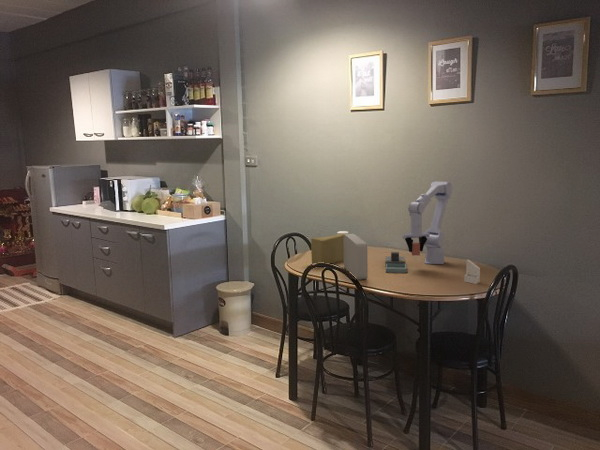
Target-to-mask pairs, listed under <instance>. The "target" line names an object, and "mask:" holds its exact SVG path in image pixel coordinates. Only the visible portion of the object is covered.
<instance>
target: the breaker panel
mask: <svg viewBox="0 0 600 450" xmlns="http://www.w3.org/2000/svg"><path fill="white" fill-rule="evenodd" d="M386 264H406V261H405V256H399V261H391V256H385V261H384V265H385V268H386Z"/></svg>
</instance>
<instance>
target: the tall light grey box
mask: <svg viewBox="0 0 600 450" xmlns="http://www.w3.org/2000/svg"><path fill="white" fill-rule="evenodd" d="M343 244H344V261H343V266H344V269H345V270H348V271H349V272H351V273H352V274H353V275H354V276H355V277H356V279H357V280H358V281H359V280H367V279H368V274H369V273H368V269H369V268H368V244H367V242H365V241H364V240H363V239H362V238H360V237H359V236H358V235H356V234H355V233H348V234H344V237H343ZM348 271H347V272H348ZM349 272H348V273H349ZM356 279H355V280H356ZM357 280H356V281H357Z"/></svg>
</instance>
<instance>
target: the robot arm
mask: <svg viewBox="0 0 600 450" xmlns="http://www.w3.org/2000/svg"><path fill="white" fill-rule="evenodd" d="M452 191H453V185H452V182H451V181H438V180H437V181H436V180H434V181H432V182H431V184H430V188H429V189H428V190H427V192H425V193H421V194H420V195H419V196H418V198H417V199H416V200H415V201H411V202H410V203H409V204H408V207H407V210H408V212H409V217H410V222H409V223H410V228H409V229H410V230H409V231H410V233H405V234H402V235H401V238H402V239H403V240H404V241H405V242H406V245H407V249H408V252H409V253H412V244H413V242H414V239H415V238H418V242H420V252H423V250H424V247H425V259H424V264H427V265H444V263H445V257H444V256H445V253H444V252H445V249H444V247H445V246H442V245H444V237H445V233H444V232H443V231H442V229H441V228H442V224H443V221H444V216H445V214H446V210H447V206H448V201H449V199H451V197H452V196H451V195H452ZM433 197H434V198H436V199H437V203H436V206H435V209H434V214H433V217H432V220H431V224H430V227H429V228H427V229H426V230H425V231H424V232H422V231H423V214H424V213H425V209H426V208H427V206H428V204H430V203H431V200H432V198H433Z"/></svg>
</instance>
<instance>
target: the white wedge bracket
mask: <svg viewBox="0 0 600 450" xmlns="http://www.w3.org/2000/svg"><path fill="white" fill-rule="evenodd" d="M465 267H466V269H465V270H466V271H465V272H466V273H465V274H464V275H463V277H464V278H463V281H464V283H470V284H475V285H476V284H478V283H480V281H481V280H480V278H481V277H480V276H481V268H480V267H479V266H478V265H476V263H474V262H472V260H470V258H469V259H466V266H465Z"/></svg>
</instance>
